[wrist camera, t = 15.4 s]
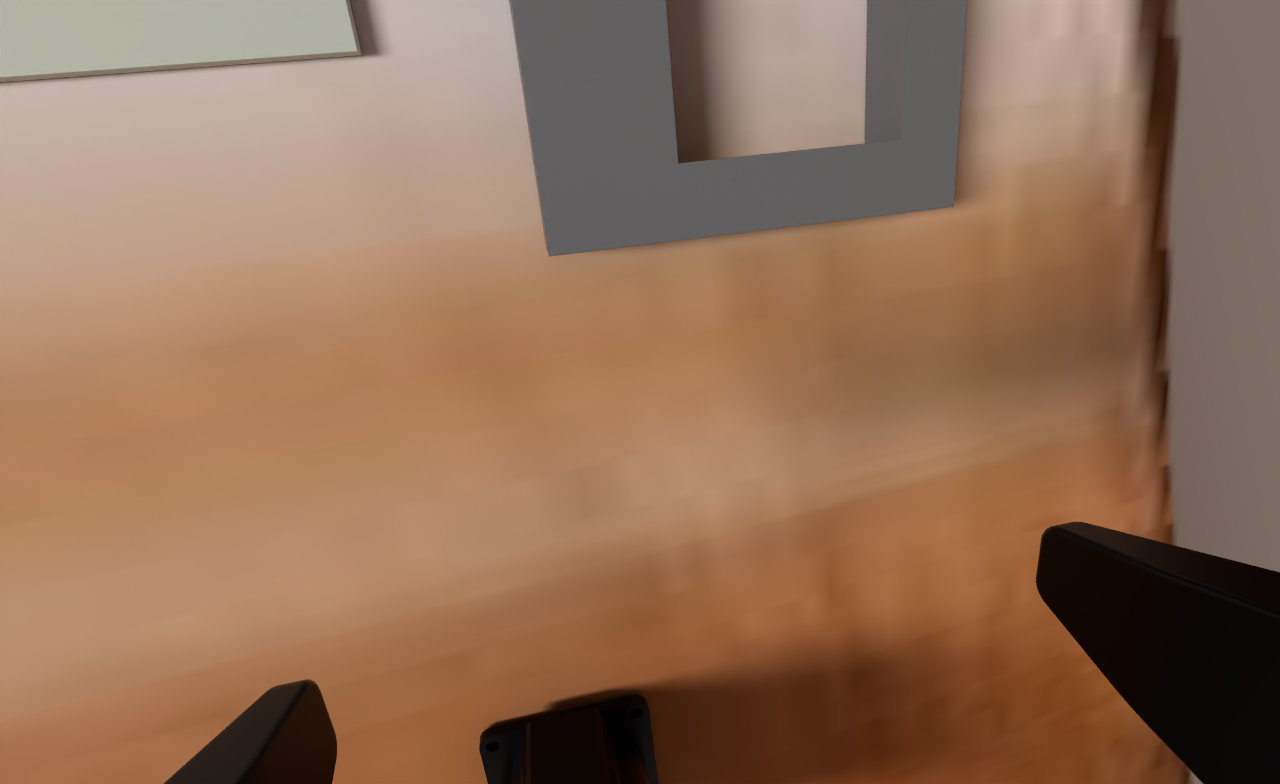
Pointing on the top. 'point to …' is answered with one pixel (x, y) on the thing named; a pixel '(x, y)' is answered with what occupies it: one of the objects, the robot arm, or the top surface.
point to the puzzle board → (731, 187)
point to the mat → (166, 35)
